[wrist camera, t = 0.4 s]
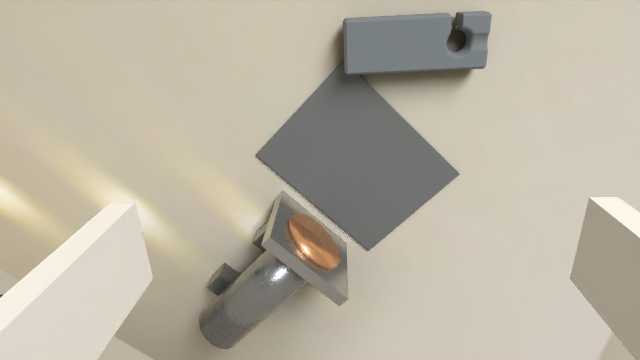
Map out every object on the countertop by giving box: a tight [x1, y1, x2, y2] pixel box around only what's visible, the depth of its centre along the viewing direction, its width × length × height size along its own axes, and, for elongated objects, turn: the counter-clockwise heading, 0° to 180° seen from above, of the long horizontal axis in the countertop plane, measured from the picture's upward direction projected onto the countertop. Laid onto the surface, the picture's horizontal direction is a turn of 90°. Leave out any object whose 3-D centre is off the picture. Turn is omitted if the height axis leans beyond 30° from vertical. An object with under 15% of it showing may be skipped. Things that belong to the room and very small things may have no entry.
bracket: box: [343, 11, 492, 75], centre depth 31 cm, size 4×10×2 cm, turn 93°
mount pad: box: [256, 61, 459, 251], centre depth 36 cm, size 14×11×1 cm
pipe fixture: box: [199, 191, 348, 349], centre depth 37 cm, size 8×13×8 cm, turn 137°
